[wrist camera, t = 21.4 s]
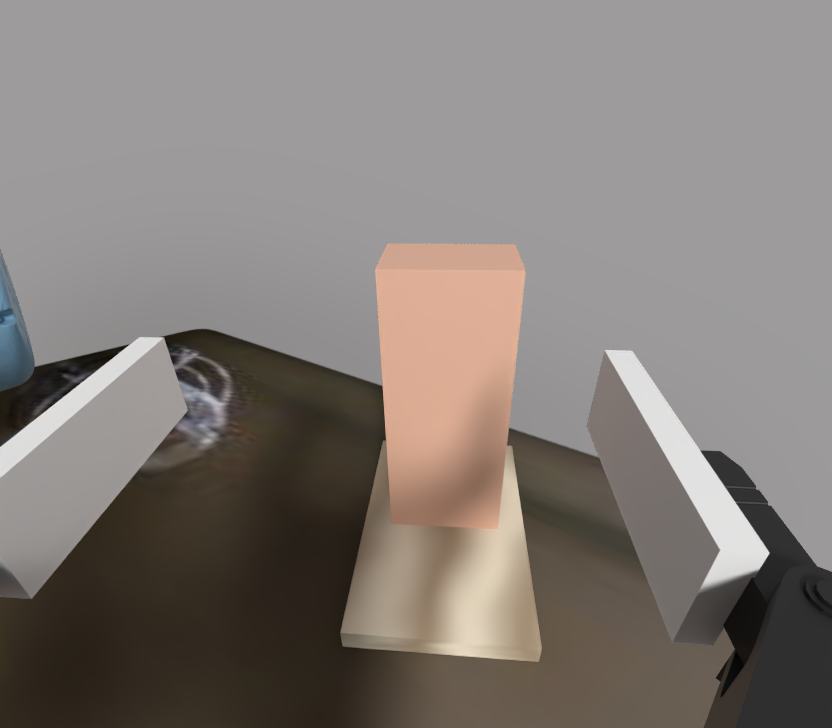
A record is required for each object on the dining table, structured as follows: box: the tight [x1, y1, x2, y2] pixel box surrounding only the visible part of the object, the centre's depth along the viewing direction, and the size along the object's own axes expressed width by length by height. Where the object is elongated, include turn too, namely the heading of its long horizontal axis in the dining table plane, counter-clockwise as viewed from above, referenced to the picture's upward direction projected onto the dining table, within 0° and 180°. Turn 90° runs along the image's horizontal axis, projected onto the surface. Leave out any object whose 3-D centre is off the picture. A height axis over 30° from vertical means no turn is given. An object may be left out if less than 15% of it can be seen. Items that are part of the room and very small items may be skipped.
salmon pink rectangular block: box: [375, 244, 526, 529], centre depth 32 cm, size 8×5×20 cm, turn 86°
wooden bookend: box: [340, 441, 542, 662], centre depth 32 cm, size 12×18×14 cm, turn 175°
